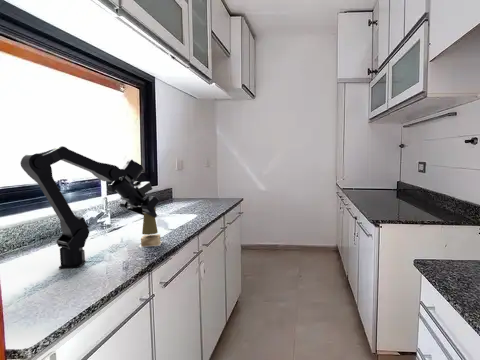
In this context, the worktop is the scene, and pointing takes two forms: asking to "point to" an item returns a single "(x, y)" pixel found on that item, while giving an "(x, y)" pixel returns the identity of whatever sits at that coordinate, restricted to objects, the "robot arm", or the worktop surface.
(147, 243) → the oak block
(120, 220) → the worktop surface
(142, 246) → the pale blue tile
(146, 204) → the robot arm
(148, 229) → the cork
